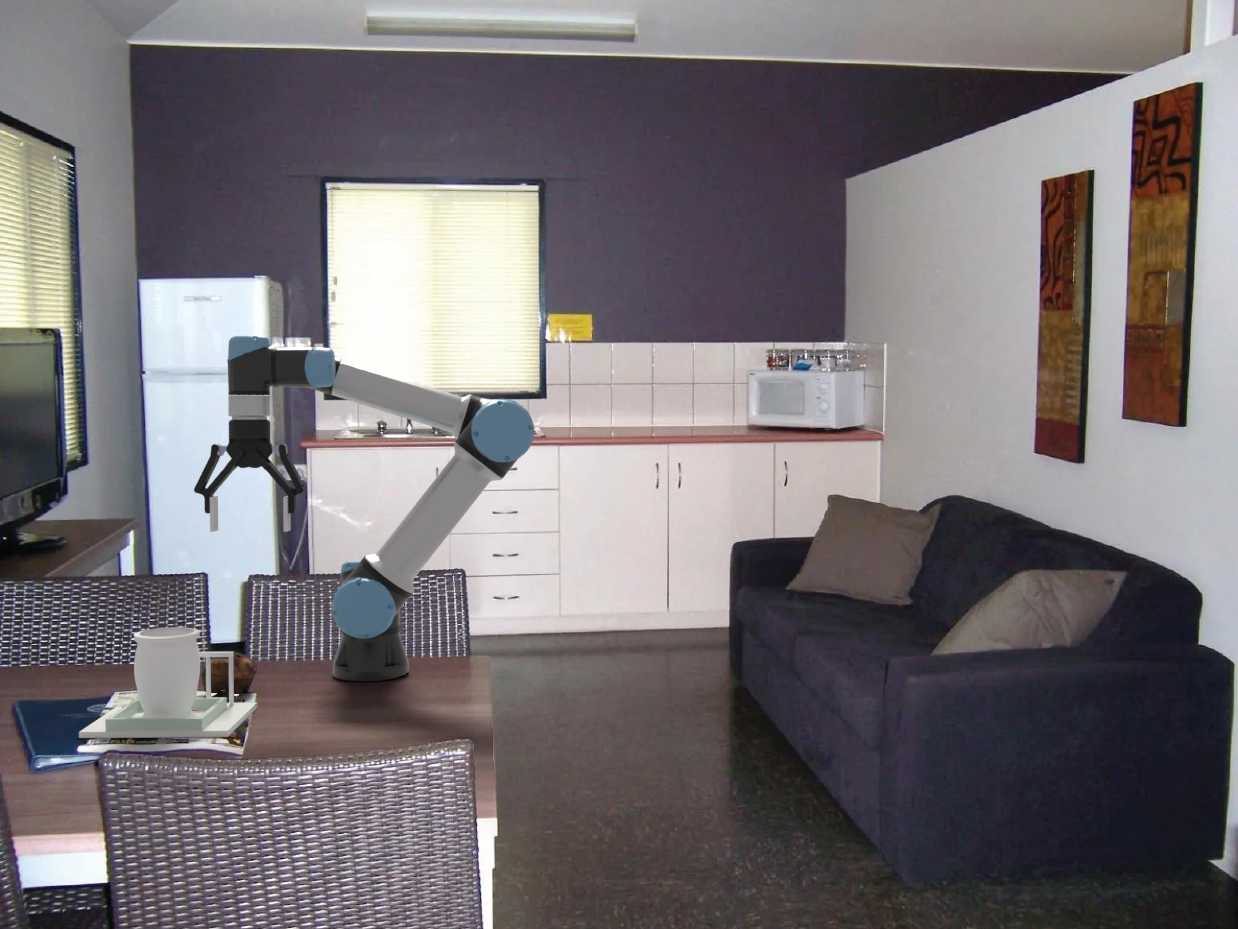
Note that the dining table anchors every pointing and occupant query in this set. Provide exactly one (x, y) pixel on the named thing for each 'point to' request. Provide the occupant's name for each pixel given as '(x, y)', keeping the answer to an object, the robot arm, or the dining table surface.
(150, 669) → the jar
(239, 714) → the dish rack
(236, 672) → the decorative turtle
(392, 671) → the robot arm
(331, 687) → the dining table surface
